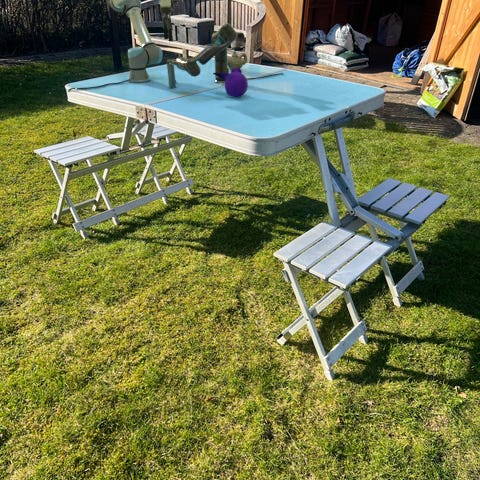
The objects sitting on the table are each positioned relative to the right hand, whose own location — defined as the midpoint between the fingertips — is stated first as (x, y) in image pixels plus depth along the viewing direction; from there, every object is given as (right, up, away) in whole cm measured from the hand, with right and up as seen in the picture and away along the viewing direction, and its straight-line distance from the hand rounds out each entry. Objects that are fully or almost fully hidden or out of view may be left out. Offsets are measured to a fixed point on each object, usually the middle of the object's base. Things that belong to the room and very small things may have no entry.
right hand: (175, 60), depth 299 cm
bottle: (-4, -12, +18) cm, 22 cm away
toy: (+38, -25, -6) cm, 46 cm away
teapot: (+40, +20, +71) cm, 84 cm away
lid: (-7, -2, +32) cm, 33 cm away
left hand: (-7, +22, +19) cm, 29 cm away
